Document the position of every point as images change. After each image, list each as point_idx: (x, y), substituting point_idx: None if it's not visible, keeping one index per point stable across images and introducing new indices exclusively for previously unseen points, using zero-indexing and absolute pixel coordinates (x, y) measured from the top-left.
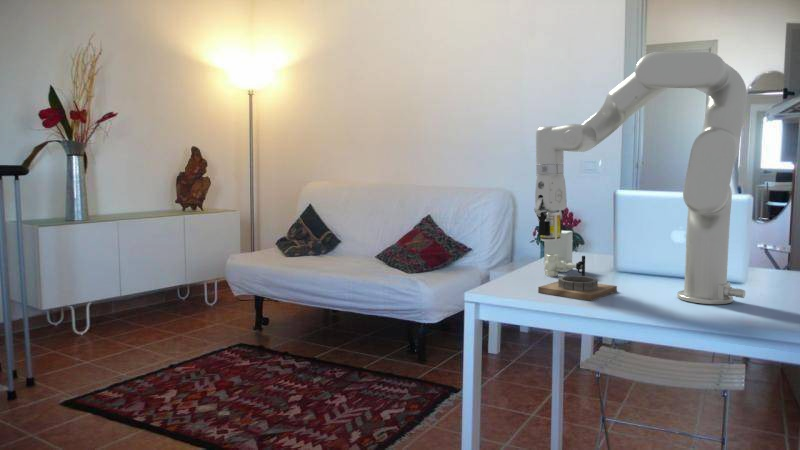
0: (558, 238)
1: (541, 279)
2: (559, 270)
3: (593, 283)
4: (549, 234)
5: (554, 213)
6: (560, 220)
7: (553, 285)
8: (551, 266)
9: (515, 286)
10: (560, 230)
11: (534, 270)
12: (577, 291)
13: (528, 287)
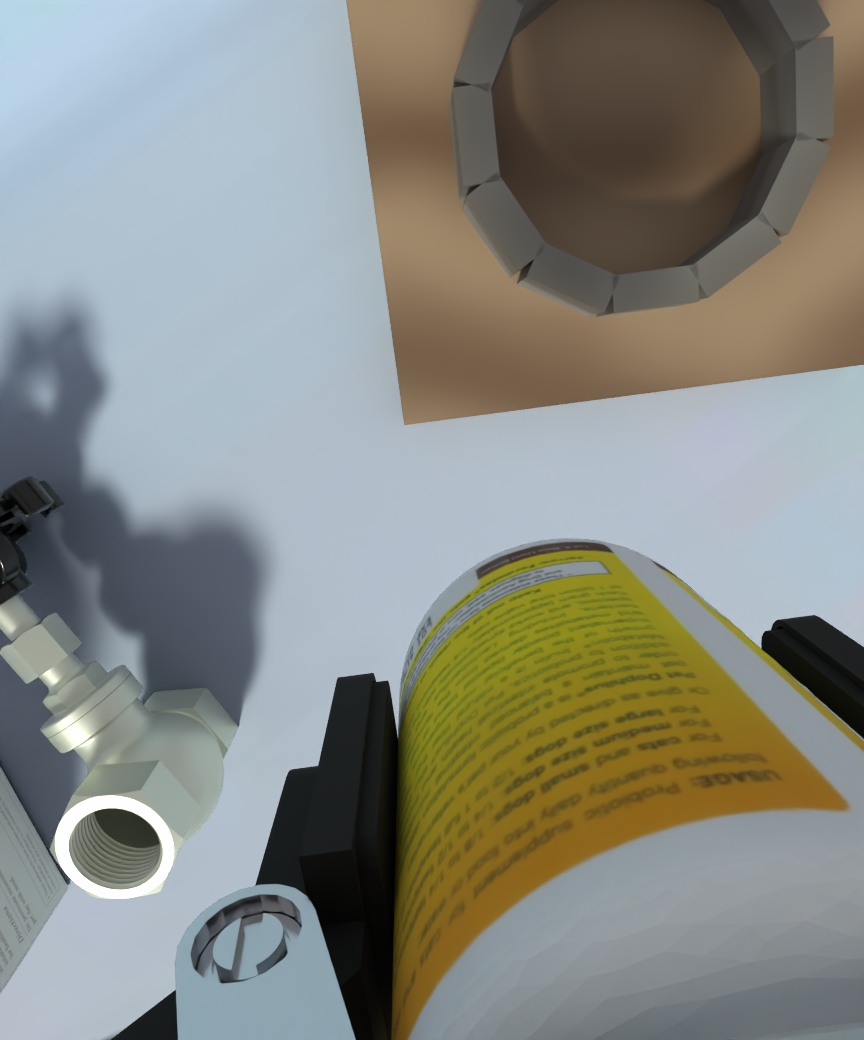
0: (569, 543)
1: (390, 675)
2: (5, 786)
3: None
4: (798, 620)
5: None
6: (352, 838)
7: (733, 316)
8: (205, 744)
9: (768, 628)
10: (367, 697)
11: (127, 938)
12: None
13: (731, 540)
